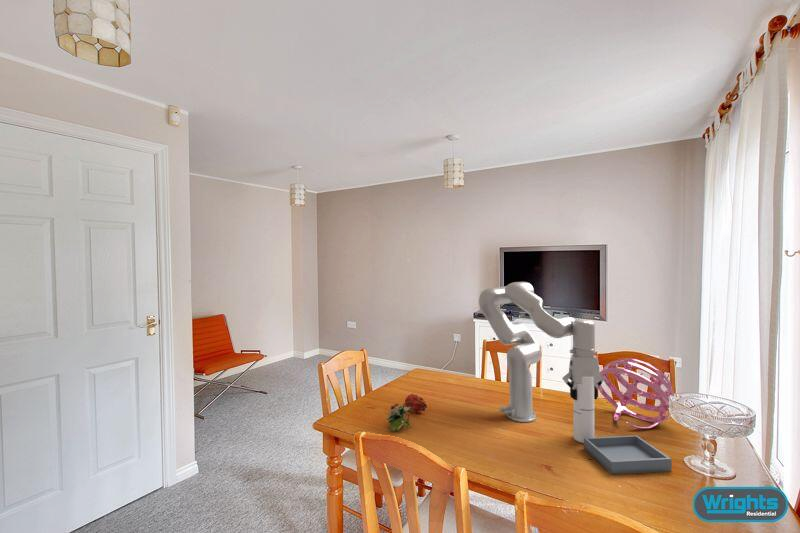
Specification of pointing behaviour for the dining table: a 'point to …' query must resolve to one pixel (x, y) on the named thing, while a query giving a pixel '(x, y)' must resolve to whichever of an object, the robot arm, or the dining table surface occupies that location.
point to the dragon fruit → (415, 403)
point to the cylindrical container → (584, 410)
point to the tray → (627, 454)
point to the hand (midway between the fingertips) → (583, 398)
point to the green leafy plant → (398, 417)
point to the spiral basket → (637, 391)
